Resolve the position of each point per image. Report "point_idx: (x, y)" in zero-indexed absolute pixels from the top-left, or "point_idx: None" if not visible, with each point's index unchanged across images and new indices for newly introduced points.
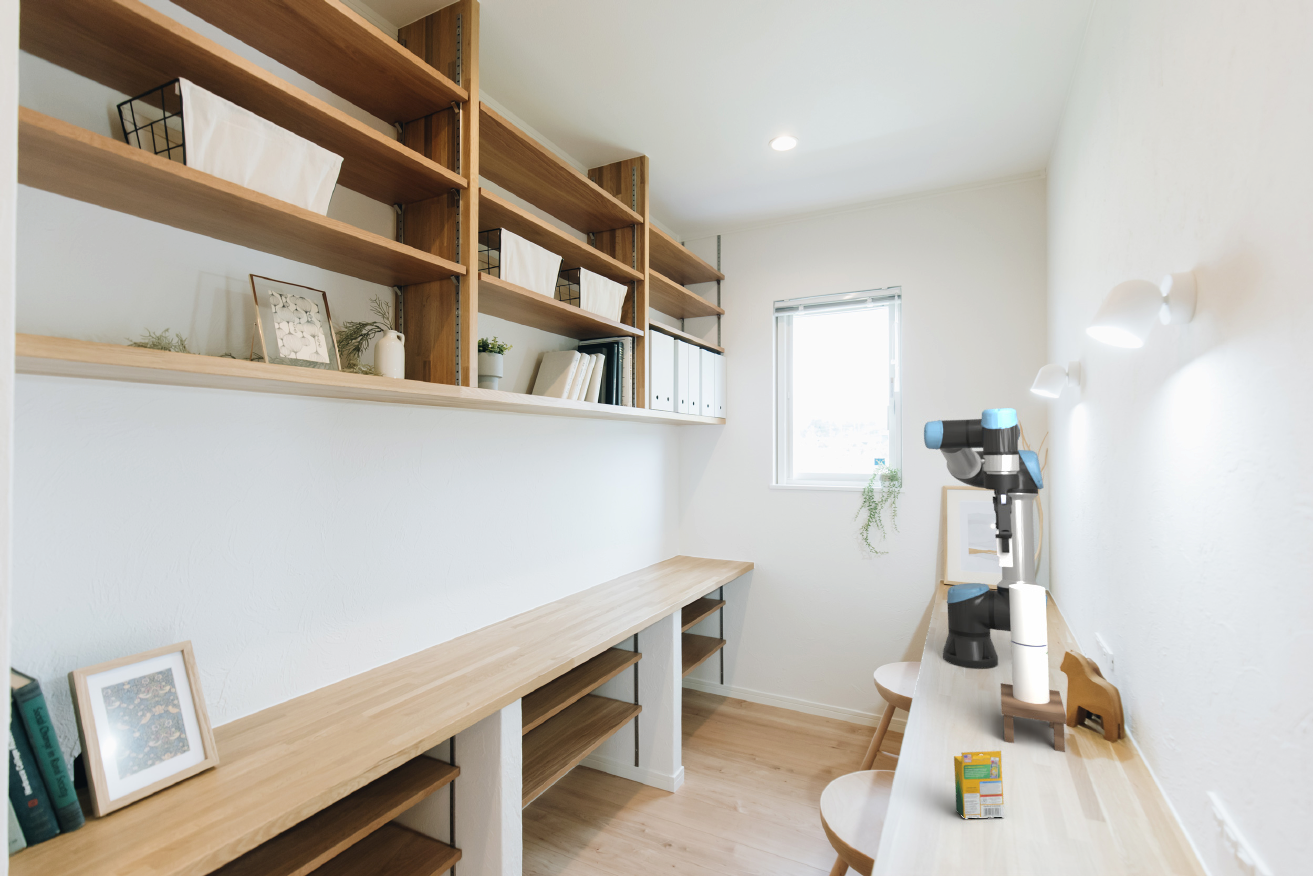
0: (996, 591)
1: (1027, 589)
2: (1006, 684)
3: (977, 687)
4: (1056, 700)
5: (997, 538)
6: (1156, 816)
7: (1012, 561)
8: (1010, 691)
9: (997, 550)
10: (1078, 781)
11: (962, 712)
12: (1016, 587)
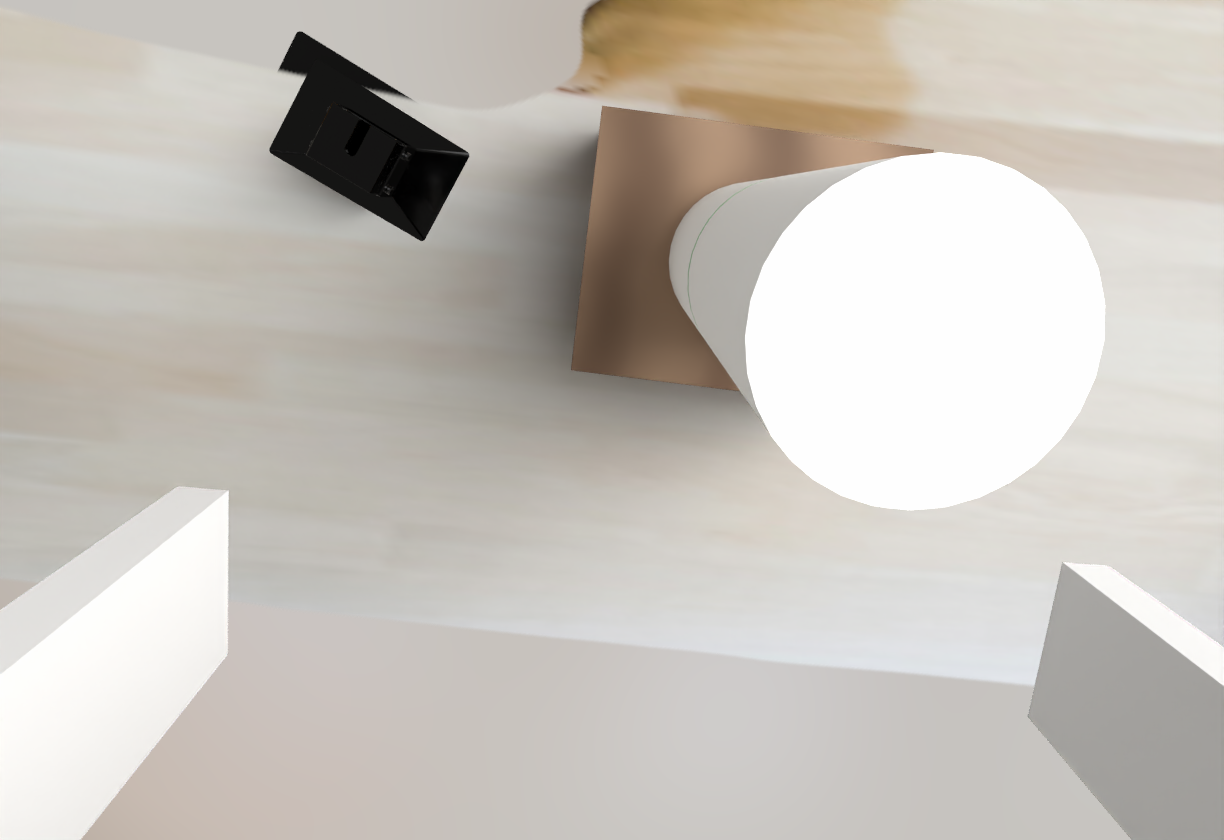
0: None
1: (1064, 357)
2: (581, 344)
3: (231, 399)
4: (751, 150)
5: (68, 831)
6: None
7: (1154, 603)
8: (683, 342)
9: (184, 696)
10: (1115, 176)
11: (578, 492)
12: (968, 449)
